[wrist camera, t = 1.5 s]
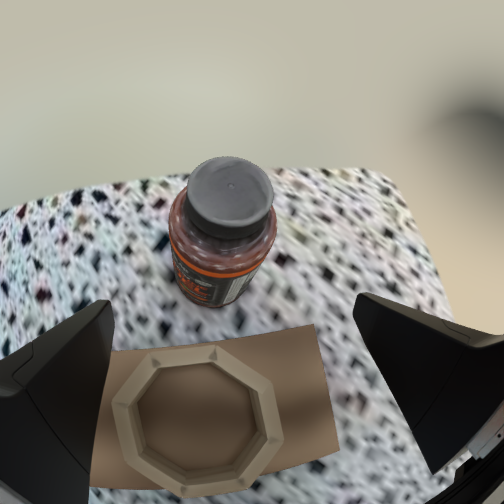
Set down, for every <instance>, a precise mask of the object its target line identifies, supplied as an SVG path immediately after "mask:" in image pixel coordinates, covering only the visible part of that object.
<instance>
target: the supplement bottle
mask: <svg viewBox="0 0 504 504" xmlns="http://www.w3.org/2000/svg"><path fill="white" fill-rule="evenodd" d="M273 198H274V196H273V187H272V185H271V182H270V180H269V178H268V176H267V175H266V174H265V172H264V171H262V170H261V169H260V168H259V167H258V166H257V165H254V164H253V163H251V162H249V161H247V160H245V159H241V158H238V157H217V158H213V159H210V160H207V161H205V162H203V163H202V164H200V165H199V166H198V167H197V168H196V169H195V170H194V171H193V172H192V174H191V175H190V177H189V180H188V183H187V186H186V187H185V188H184V189H183V190H182V191H181V192H180V193H179V194H178V195H177V197H176V198H175V200H174V202H173V204H172V207H171V209H170V213H169V237H170V244H171V251H172V258H173V266H174V272H175V277H176V281H177V283H178V285H179V287H180V289H181V291H182V292H183V293H184V294H185V296H186V297H187V298H189V299H190V300H192V301H193V302H195V303H197V304H199V305H202V306H206V307H221V306H224V305H227V304H230V303H232V302H234V301H235V300H236V299H238V298H239V297H240V296H241V294H242V293H243V292H244V291H245V289H246V288H247V286H248V285H249V283H250V281H251V280H252V278H253V276H254V275H255V273H256V272H257V270H258V269H259V267H260V265H261V264H262V262H263V261H264V259H265V257H266V256H267V254H268V252H269V251H270V249H271V247H272V245H273V243H274V240H275V237H276V232H277V219H276V213H275V210H274V208H273V206H272V203H273Z"/></svg>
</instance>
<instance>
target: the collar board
mask: <svg viewBox="0 0 504 504" xmlns="http://www.w3.org/2000/svg"><path fill="white" fill-rule="evenodd" d="M339 450H340V449H339V443H338V438H337V432H336V427H335V421H334V416H333V411H332V406H331V401H330V396H329V391H328V386H327V382H326V377H325V372H324V368H323V363H322V358H321V354H320V350H319V345H318V341H317V336H316V332H315V328H314V324H311V325H306V326H301V327H296V328H291V329H286V330H281V331H276V332H271V333H265V334H259V335H254V336H248V337H241V338H235V339H228V340H221V341H214V342H207V343H199V344H191V345H182V346H173V347H163V348H152V349H139V350H125V351H111V357H110V364H109V369H108V373H107V377H106V382H105V386H104V391H103V395H102V400H101V405H100V410H99V416H98V421H97V427H96V433H95V440H94V447H93V455H92V463H91V472H90V485H89V486H90V487H99V488H111V489H134V490H154V489H166V490H168V491H170V492H171V493H173V494H175V495H177V496H179V497H180V498H182V497H183V498H195V497H204V496H212V495H219V494H225V493H231V492H237V491H242V490H247V488H248V489H249V487H250V486H251V485H252V484H253V482H254V481H255V480H256V479H257V477H258V476H262V475H266V474H270V473H274V472H277V471H281V470H284V469H288V468H291V467H295V466H298V465H301V464H304V463H307V462H310V461H313V460H316V459H319V458H321V457H324V456H327V455H329V454H332V453H334V452H337V451H339Z"/></svg>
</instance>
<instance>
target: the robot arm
mask: <svg viewBox="0 0 504 504" xmlns="http://www.w3.org/2000/svg"><path fill="white" fill-rule="evenodd" d="M353 318H354V320H355V322H356V325H357V327H358V329H359V331H360V334H361V336H362V338H363V340H364V343H365V345H366V347H367V349H368V351H369V352H370V354H371V356H372V358H373V360H374V361H375V363H376V365H377V367H378V369H379V370H380V372H381V374H382V376H383V378H384V379H385V381H386V383H387V385H388V387H389V389H390V391H391V392H392V394H393V396H394V398H395V400H396V402H397V404H398V406H399V408H400V410H401V412H402V413H403V415H404V417H405V419H406V421H407V423H408V425H409V427H410V429H411V431H412V434H413V436H414V438H415V440H416V442H417V444H418V446H419V448H420V450H421V452H422V454H423V456H424V459H425V461H426V463H427V465H428V467H429V469H430V472H431V473H432V475H434V474H436V473H437V472H439V471H440V470H442V469H443V468H445V467H446V466H448V465H449V464H450V463H452V462H453V461H454V460H456V459H457V458H458V457H460V456H461V455H462V454H464V453H465V452H466V451H467V450H469V452H470V453H471V454H472V457H471V458H469V459H468V460H467V461H466V462H464V463H463V464H462V465H461V466H460V467H459V468H458V469H457V470H456V472H455V478H454V483H453V484H452V485H450V486H449V487H448V488H446V489H445V490H444V491H442V492H441V493H440V494H438V495H437V496H435V497H434V498H432V499H431V500H429V501H428V502H426V503H425V504H504V334H503V335H492V334H488V333H485V332H481V331H478V330H475V329H471V328H468V327H465V326H462V325H459V324H456V323H453V322H450V321H447V320H444V319H440V318H439V317H436V316H433V315H430V314H427V313H425V312H422V311H419V310H416V309H413V308H411V307H408V306H405V305H402V304H399V303H397V302H394V301H391V300H388V299H385V298H382V297H380V296H377V295H374V294H371V293H368V292H365V293H359V294H358V295H357V298H356V301H355V305H354V309H353ZM114 328H115V321H114V316H113V311H112V306H111V302H110V301H109V300H97V301H95V302H94V303H92V304H90V305H89V306H87V307H85V308H84V309H82V310H81V311H79V312H77V313H76V314H74V315H72V316H71V317H69V318H67V319H66V320H64V321H63V322H61V323H59V324H58V325H56V326H55V327H53V328H51V329H50V330H48V331H47V332H45V333H44V334H42V335H40V336H39V337H37V338H36V339H34V340H33V341H32V342H29V343H28V344H26V345H25V346H23V347H22V348H20V349H18V350H17V351H15V352H14V353H12V354H10V355H8V356H7V357H5V358H3V359H2V360H0V504H88V500H89V485H90V472H91V463H92V455H93V447H94V440H95V433H96V427H97V421H98V416H99V410H100V405H101V400H102V395H103V391H104V386H105V382H106V377H107V373H108V369H109V364H110V357H111V349H112V342H113V335H114Z"/></svg>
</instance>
